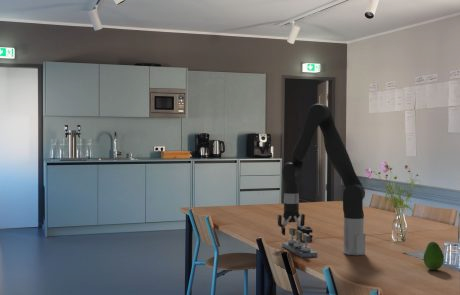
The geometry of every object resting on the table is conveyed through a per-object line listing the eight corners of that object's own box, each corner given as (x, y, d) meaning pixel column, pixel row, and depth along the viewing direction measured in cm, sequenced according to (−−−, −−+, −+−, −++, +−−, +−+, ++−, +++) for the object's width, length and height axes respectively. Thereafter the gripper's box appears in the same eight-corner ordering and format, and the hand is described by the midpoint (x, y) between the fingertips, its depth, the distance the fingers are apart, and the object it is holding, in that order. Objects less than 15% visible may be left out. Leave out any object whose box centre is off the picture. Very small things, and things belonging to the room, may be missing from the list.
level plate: (317, 256, 257) (317, 251, 257) (301, 257, 255) (301, 252, 255) (297, 245, 282) (297, 240, 282) (282, 246, 280) (282, 241, 280)
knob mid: (305, 247, 266) (305, 232, 266) (297, 248, 265) (297, 232, 265) (301, 245, 272) (301, 230, 272) (292, 245, 271) (292, 230, 271)
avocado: (423, 271, 231) (423, 242, 230) (423, 267, 238) (424, 239, 238) (443, 273, 228) (444, 244, 227) (443, 268, 235) (444, 240, 235)
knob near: (312, 251, 257) (313, 235, 257) (304, 252, 256) (304, 236, 256) (307, 248, 263) (308, 233, 263) (299, 249, 262) (299, 233, 262)
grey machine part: (296, 237, 305) (296, 225, 305) (309, 237, 305) (309, 225, 305) (299, 241, 295) (299, 228, 295) (312, 241, 295) (312, 228, 295)
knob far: (298, 244, 275) (298, 229, 275) (290, 244, 274) (290, 229, 274) (294, 241, 281) (294, 227, 280) (286, 242, 280) (286, 227, 279)
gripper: (280, 203, 273) (279, 236, 274) (307, 202, 277) (307, 235, 277) (275, 201, 280) (275, 234, 281) (301, 200, 284) (301, 233, 284)
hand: (291, 234), depth 279 cm, fingers open, 7 cm apart
